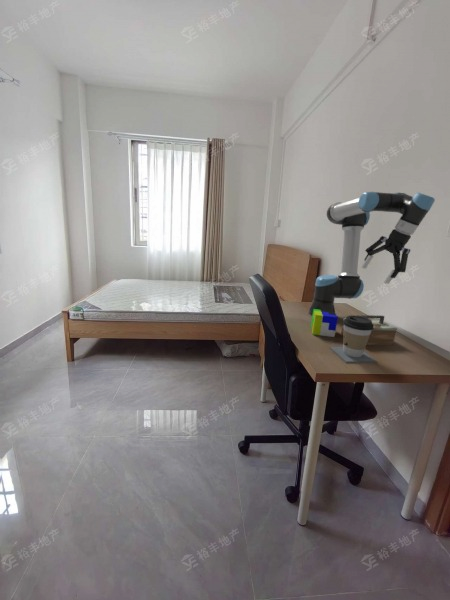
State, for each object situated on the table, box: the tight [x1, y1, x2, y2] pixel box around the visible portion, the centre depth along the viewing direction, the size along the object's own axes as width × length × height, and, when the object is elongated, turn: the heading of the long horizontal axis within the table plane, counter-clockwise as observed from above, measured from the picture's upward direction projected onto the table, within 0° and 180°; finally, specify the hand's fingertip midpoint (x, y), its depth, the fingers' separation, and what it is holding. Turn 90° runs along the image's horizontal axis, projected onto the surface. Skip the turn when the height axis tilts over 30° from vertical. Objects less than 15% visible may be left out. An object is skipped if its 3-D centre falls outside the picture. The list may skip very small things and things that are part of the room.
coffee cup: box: [342, 314, 374, 358], centre depth 110 cm, size 11×11×15 cm
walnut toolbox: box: [340, 314, 398, 346], centre depth 129 cm, size 13×19×12 cm
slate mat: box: [329, 346, 378, 364], centre depth 112 cm, size 13×13×1 cm
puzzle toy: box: [310, 309, 339, 338], centre depth 135 cm, size 10×10×10 cm
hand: (374, 275), depth 126 cm, fingers open, 13 cm apart
